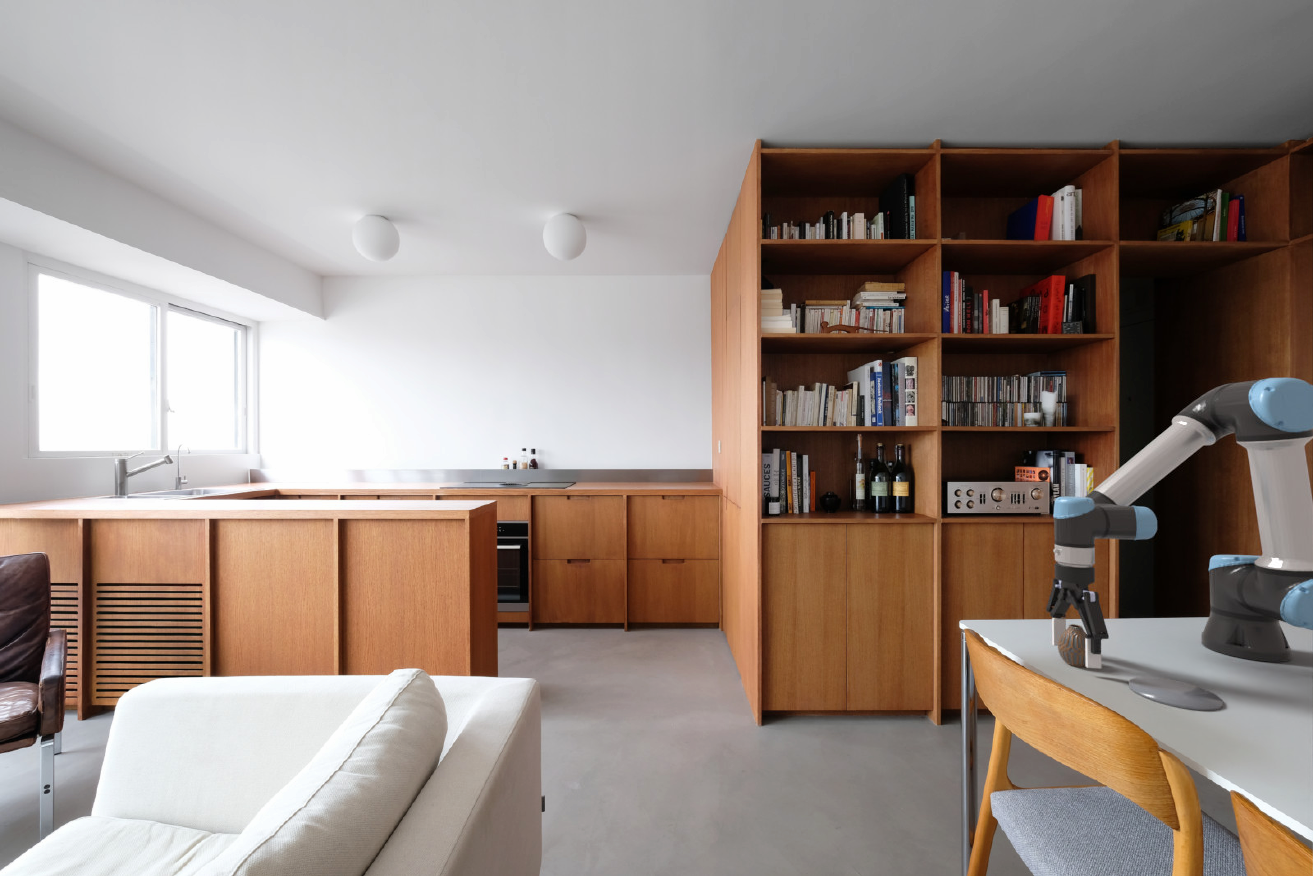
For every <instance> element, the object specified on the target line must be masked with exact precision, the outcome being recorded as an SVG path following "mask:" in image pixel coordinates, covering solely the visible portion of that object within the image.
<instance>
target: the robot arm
mask: <svg viewBox="0 0 1313 876" xmlns="http://www.w3.org/2000/svg"><path fill="white" fill-rule="evenodd" d="M1230 434H1231V435H1232V434H1235V440H1236V443H1237V444H1238V445H1240V446H1242V447H1243V448H1245V449H1246V450H1247V456H1248V462H1249V470H1250V477H1251V483H1252V490H1253V497H1254V498H1253V499H1254V504H1255V510H1256V517H1257V525H1258V531H1259V538H1260V546H1261V551H1262V554H1261V555H1251V554H1248V555H1246V554H1245V555H1244V554H1216V555H1215V554H1214V555H1213V556H1211V557H1210V559H1209V567H1208V572H1209V601H1210V602H1209V603H1210V605H1209V607H1210V612H1209V616H1208V619H1207V621H1206V624H1205V626H1204V630H1203V631H1202V632H1201V645H1202V646H1204V647H1205V648H1206V649H1209V650H1211V651H1215V652H1217V653H1220V654H1223V655H1227V656H1232V657H1236V658H1241V659H1247V660H1253V661H1261V662H1271V663H1275V662H1278V663H1279V662H1280V663H1281V662H1282V663H1283V662H1288V661H1290V660H1292V648H1291V646H1290V645H1289V641H1288V639H1287V637H1286V635H1285V633H1284V631H1283V629H1282V627H1281V624H1280V622H1283V623H1286V624H1288V625H1290V626H1292V627H1296V628H1301V629H1302V628H1303V629H1306V630H1309V631H1313V495H1312V488H1311V482H1310V474H1309V467H1308V462H1307V455H1306V449H1305V446H1306V444H1308V443H1309V442H1310V441H1311V440H1313V384H1310V383H1309V382H1307V380H1302V379H1300V378H1295V377H1269V378H1264V379H1258V380H1256V379H1255V380H1250V381H1249V380H1248V381H1243V382H1242V381H1241V382H1238V381H1237V382H1231V383H1227V384H1222V385H1220V386H1217V387H1214V388H1213V389H1211V390H1209V391H1207V392H1205V393H1204V394H1202V395H1200V397H1199V398H1197V399H1195V400H1193V401H1192V402H1191V403H1190V404H1189V405H1187V406H1186V407H1185V408H1183V409H1182V410H1181V411H1180V412H1178V414H1176V415H1175V416H1174V417H1173V418H1172V420H1171V425H1170V426H1169V427H1168V428H1166V430H1164V431H1163V432H1162V433H1161V434H1159V435H1158V436H1157V437H1155V439H1153V440H1152V441H1151V442H1150V443H1148V444H1147V445H1145V447H1144V448H1143V449H1141V450H1140V451H1139V452H1138V453H1136V454H1135V455H1134V456H1133V457H1131V458H1130V459H1129V460H1128V461H1127V462H1126V463H1124V464H1123V465H1122V466H1120V468H1118V469H1117V470H1115V471H1114V473H1112V474H1111V475H1109V476H1108V477H1107V478H1106V479H1105V480H1104V481H1102V482H1101V483H1100V484H1099V485H1097V487H1095V488H1094V489H1093V490H1091V491H1090V492H1088V493H1087V494H1086V495H1085V496H1071V495H1070V496H1064V495H1063V496H1059V497H1056V499H1055V500H1054V505H1053V515H1052V516H1053V525H1054V529H1053V530H1054V533H1053V535H1054V548H1053V553H1054V560H1055V563H1054V578H1053V577H1052V587H1051V592H1050V593H1049V597H1048V600H1047V605H1046V608H1045V610H1046V612H1047V613H1049V616H1050V617H1051V628H1052V629H1051V636H1052V638H1051V641H1052V643H1051V644H1052V646H1054V647H1058V640H1059V637H1060V636H1061V634H1062V633H1063V632H1064V631H1065V630H1066V629H1067V619H1066V618H1067V615H1066V614H1067V612H1068V610H1069V609H1070V607H1071V606H1073V609H1075V610H1077V613H1078V615H1079V617H1080V619H1081V621H1082V622H1081V623H1082V624H1083V627H1084V631H1085V633H1086V634H1087V635H1086V636H1085V654H1086V667H1085V668H1086V669H1102V640H1109V633H1108V629H1107V625H1106V621H1105V617H1104V615H1103V611H1102V607H1101V604H1100V596H1099V595H1100V594H1099V592H1097V591H1090V588H1089V585H1091V584H1094V583H1095V582H1096V569H1095V567H1094V565H1095V564H1096V558H1095V557H1096V555H1095V550H1096V548H1095V547H1096V546H1095V544H1096V543H1095V541H1096V539H1098V540H1102V539H1105V540H1106V539H1108V540H1109V539H1110V540H1111V539H1112V540H1133V541H1136V540H1149V539H1152V538H1153V537H1155V534H1156V533H1157V531H1158V520H1157V519H1158V518H1157V516H1156V514H1155V513H1154V511H1153V510H1152V509H1150V508H1149V507H1146V506H1138V505H1137V506H1136V505H1131V504H1133V502H1135V501H1136V500H1137V499H1139V498H1140V497H1141V496H1142V495H1144V494H1145V493H1146V492H1148V491H1149V490H1150V489H1151V488H1153V486H1155V485H1156V484H1157V483H1159V481H1161V480H1162V479H1164V478H1165V477H1166V476H1167V475H1168V474H1170V473H1171V472H1172V471H1173V470H1175V469H1176V468H1177V467H1179V466H1180V465H1181V464H1182V463H1184V462H1185V461H1186V460H1187V459H1188V458H1189V457H1191V456H1192V455H1194V453H1196V452H1197V451H1198V450H1200V449H1201V448H1202V447H1203V446H1212V445H1213V444H1215V443H1216V442H1218V441H1219V440H1220V439H1222V438H1223V437H1225V436H1227V435H1230Z"/></svg>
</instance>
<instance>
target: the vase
mask: <svg viewBox="0 0 1313 876" xmlns="http://www.w3.org/2000/svg"><path fill="white" fill-rule="evenodd" d="M1086 635H1087V632H1086V630H1085V629H1084V628H1083V626H1082V625H1079V624H1073V623H1072V624H1069V625H1068V627H1066V630H1065V631H1064V632H1063V633H1062V634H1061V636H1060V637H1059V640H1058V646H1057V650H1058V653H1059V655H1060V658H1061V659H1062V660H1063V661H1064V662H1065V663H1066V664H1068V665H1069V666H1073V667H1077V668H1078V667H1079V668H1087V667H1086V654H1085V636H1086Z"/></svg>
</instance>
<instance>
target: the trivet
mask: <svg viewBox="0 0 1313 876" xmlns="http://www.w3.org/2000/svg"><path fill="white" fill-rule="evenodd" d="M1128 688H1129V689H1130V690H1131V691H1132V692H1133V693H1134V694H1137V695H1138V696H1141V697H1143V698H1145V699H1147V700H1150V701H1153V702H1157V703H1159V704H1162V705H1165V706H1170V707H1174V708H1178V709H1184V710H1192V711H1208V712H1209V711H1217V710H1219V709H1221V708H1222V707H1223V700H1222V699H1221V698H1220V697H1219V696H1218V695H1217V694H1215V693H1214V692H1211V691H1209V690H1207V689H1205V688H1202V687H1199V686H1197V685H1194V684H1190V683H1186V682H1183V681H1179V680H1174V679H1170V678H1169V679H1168V678H1161V677H1154V676H1153V677H1149V676H1148V677H1147V676H1142V677H1140V676H1139V677H1134V678H1131V679H1129V681H1128Z"/></svg>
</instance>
